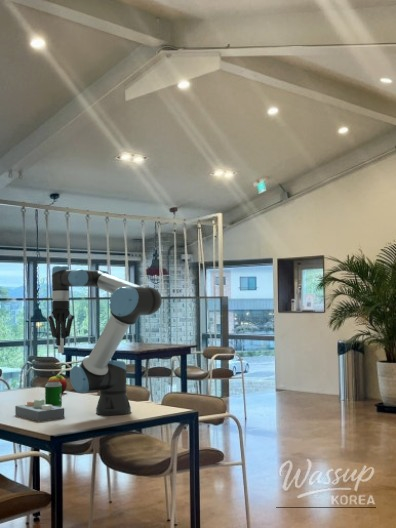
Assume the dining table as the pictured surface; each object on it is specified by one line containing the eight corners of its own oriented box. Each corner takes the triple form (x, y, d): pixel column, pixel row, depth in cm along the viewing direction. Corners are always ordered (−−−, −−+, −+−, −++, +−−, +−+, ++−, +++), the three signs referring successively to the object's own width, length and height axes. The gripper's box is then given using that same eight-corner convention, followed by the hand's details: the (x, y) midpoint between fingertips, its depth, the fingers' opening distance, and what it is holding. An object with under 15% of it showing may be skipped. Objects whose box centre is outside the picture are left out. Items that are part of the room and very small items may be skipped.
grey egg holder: (64, 417, 278) (64, 408, 279) (38, 421, 271) (38, 411, 271) (40, 411, 295) (40, 402, 295) (15, 415, 288) (15, 405, 288)
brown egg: (39, 413, 288) (39, 401, 288) (29, 414, 285) (29, 403, 286) (34, 412, 291) (34, 400, 292) (25, 413, 289) (25, 402, 289)
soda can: (57, 409, 300) (57, 383, 301) (42, 409, 302) (42, 383, 303) (64, 407, 308) (64, 381, 308) (49, 407, 309) (49, 381, 310)
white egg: (54, 417, 277) (54, 405, 278) (44, 418, 275) (44, 406, 275) (49, 416, 281) (49, 404, 281) (39, 417, 278) (39, 405, 278)
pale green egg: (46, 411, 283) (46, 400, 283) (37, 412, 280) (37, 401, 280) (41, 410, 286) (41, 399, 286) (32, 411, 283) (32, 400, 284)
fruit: (61, 391, 366) (60, 373, 367) (70, 393, 358) (70, 374, 359) (43, 393, 360) (43, 375, 360) (52, 395, 351) (52, 376, 352)
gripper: (69, 300, 303) (69, 351, 302) (43, 300, 295) (43, 353, 293) (77, 300, 297) (77, 352, 296) (51, 300, 289) (51, 354, 287)
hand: (60, 352), depth 295 cm, fingers closed
